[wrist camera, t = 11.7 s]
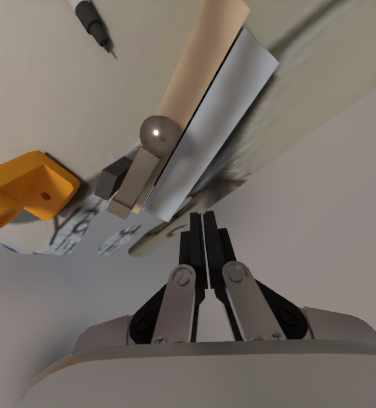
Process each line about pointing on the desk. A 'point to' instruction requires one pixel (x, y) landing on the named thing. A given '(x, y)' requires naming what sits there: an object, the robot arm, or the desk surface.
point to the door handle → (145, 161)
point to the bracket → (34, 187)
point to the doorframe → (208, 110)
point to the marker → (89, 20)
